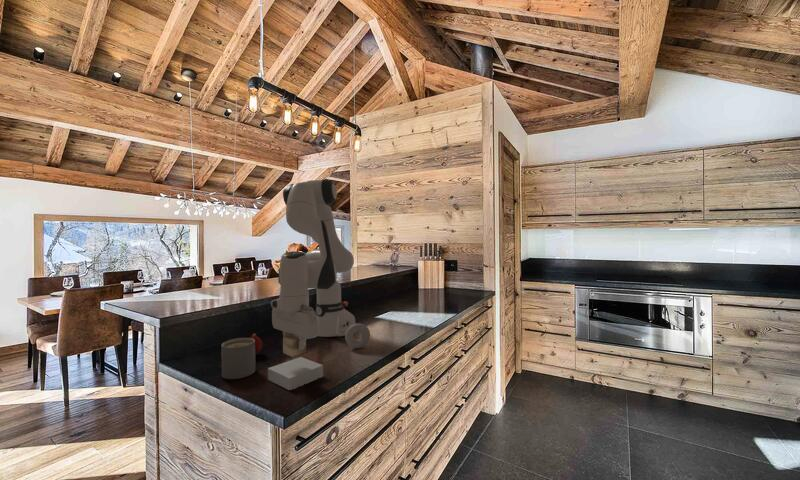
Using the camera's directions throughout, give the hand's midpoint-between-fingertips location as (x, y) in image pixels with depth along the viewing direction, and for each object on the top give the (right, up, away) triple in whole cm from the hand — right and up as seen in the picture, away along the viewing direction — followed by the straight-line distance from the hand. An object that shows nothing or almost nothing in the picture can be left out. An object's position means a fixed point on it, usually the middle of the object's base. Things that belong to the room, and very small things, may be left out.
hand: (294, 347), depth 102 cm
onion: (-22, -10, +20) cm, 32 cm away
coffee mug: (-20, -10, +6) cm, 24 cm away
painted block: (0, -10, 0) cm, 10 cm away
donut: (+16, -10, +27) cm, 33 cm away
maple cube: (0, -2, 0) cm, 2 cm away
